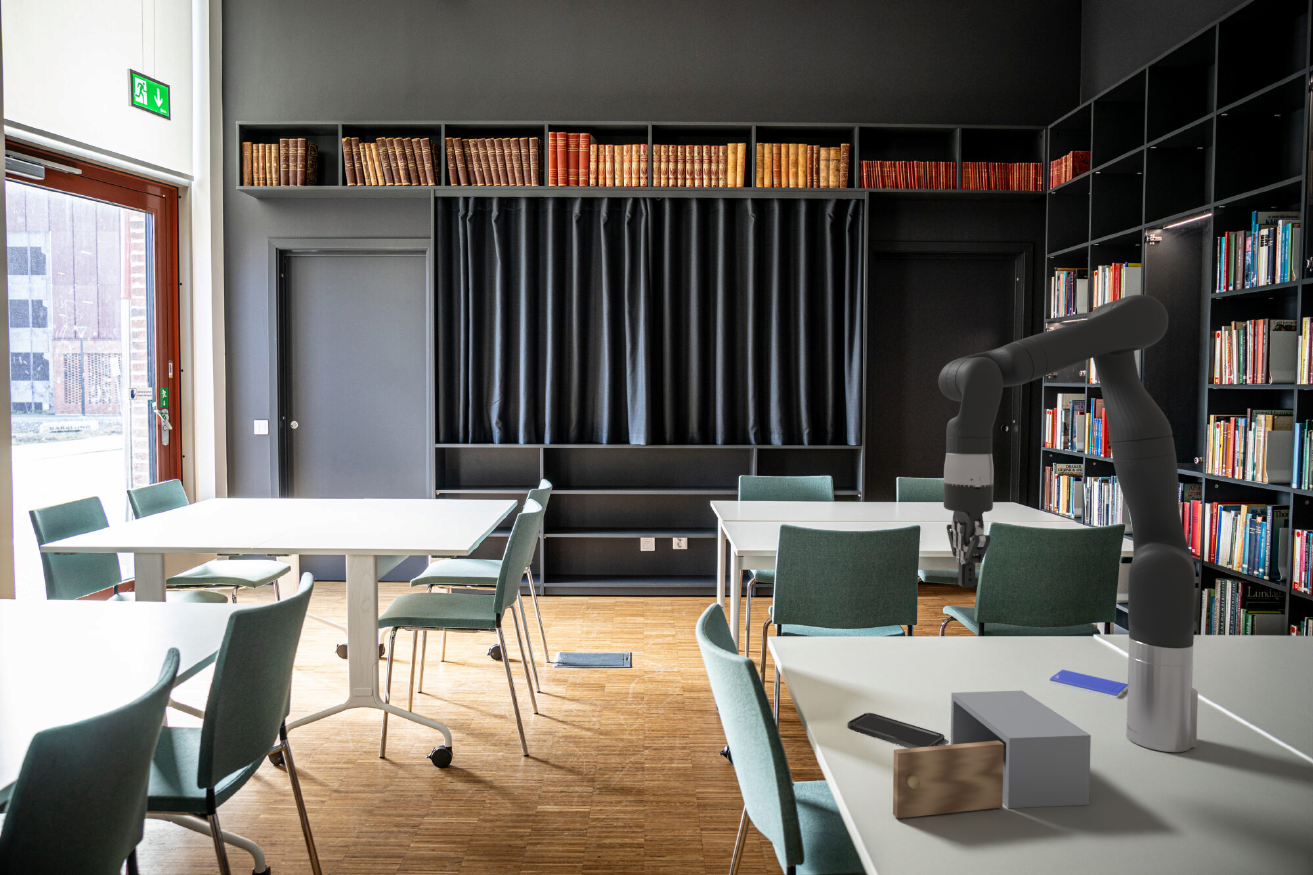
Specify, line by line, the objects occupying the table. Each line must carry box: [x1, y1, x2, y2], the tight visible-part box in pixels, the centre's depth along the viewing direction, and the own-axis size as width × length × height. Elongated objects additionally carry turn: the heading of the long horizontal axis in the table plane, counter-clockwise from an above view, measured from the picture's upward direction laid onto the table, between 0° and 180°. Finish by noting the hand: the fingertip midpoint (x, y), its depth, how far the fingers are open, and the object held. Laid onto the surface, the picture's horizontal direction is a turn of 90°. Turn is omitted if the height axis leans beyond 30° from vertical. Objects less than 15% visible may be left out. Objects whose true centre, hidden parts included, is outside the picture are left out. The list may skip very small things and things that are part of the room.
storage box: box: [950, 690, 1092, 809], centre depth 123 cm, size 12×18×10 cm, turn 5°
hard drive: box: [1048, 669, 1128, 699], centre depth 164 cm, size 2×8×12 cm
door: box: [892, 741, 1004, 819], centre depth 112 cm, size 16×2×9 cm, turn 101°
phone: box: [847, 712, 945, 749], centre depth 139 cm, size 8×1×15 cm
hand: (966, 586), depth 132 cm, fingers closed
